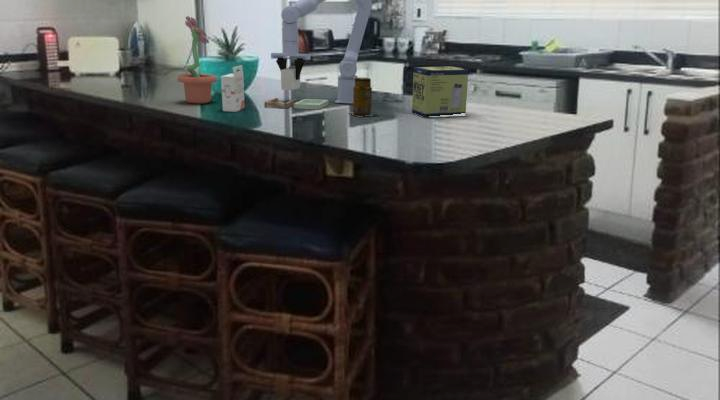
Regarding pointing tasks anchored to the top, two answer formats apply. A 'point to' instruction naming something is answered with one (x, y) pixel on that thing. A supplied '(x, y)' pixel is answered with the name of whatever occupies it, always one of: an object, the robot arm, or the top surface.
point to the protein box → (439, 91)
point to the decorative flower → (195, 83)
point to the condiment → (362, 97)
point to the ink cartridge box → (233, 90)
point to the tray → (311, 104)
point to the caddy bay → (275, 104)
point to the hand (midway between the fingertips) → (291, 79)
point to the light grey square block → (289, 79)
